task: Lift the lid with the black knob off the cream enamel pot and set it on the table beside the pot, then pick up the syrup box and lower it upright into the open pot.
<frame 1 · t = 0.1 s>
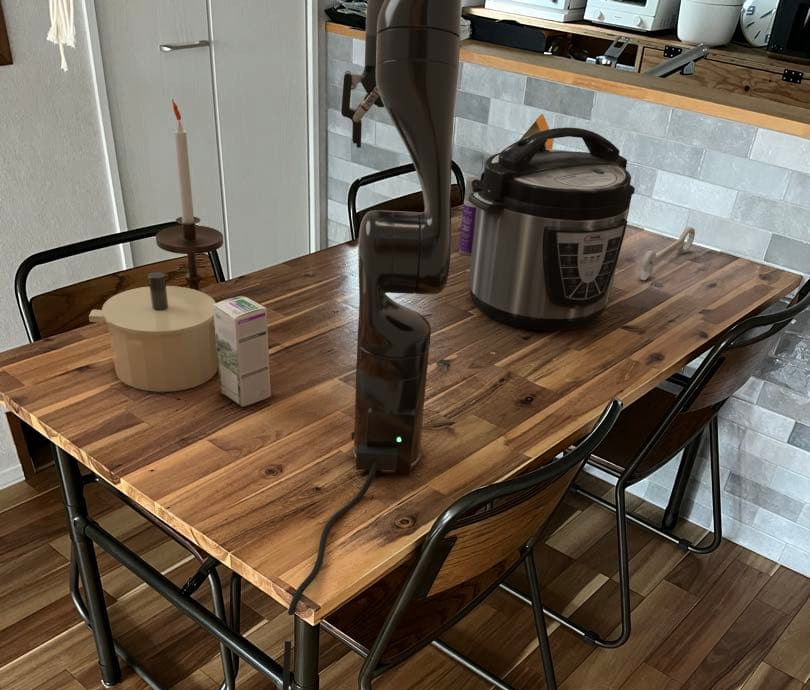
hand: (385, 148, 135), 29 cm above the table, tool pointing down, fingers open, 8 cm apart
pot: (167, 367, 134), on the table
pressure cooker: (537, 308, 162), on the table
lid: (160, 311, 128), point 9 cm above the table, touching pot
candlestick: (197, 319, 149), on the table
orange juice: (526, 202, 215), on the table
syrup box: (245, 396, 129), on the table
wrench: (664, 266, 185), on the table
container: (469, 252, 184), on the table
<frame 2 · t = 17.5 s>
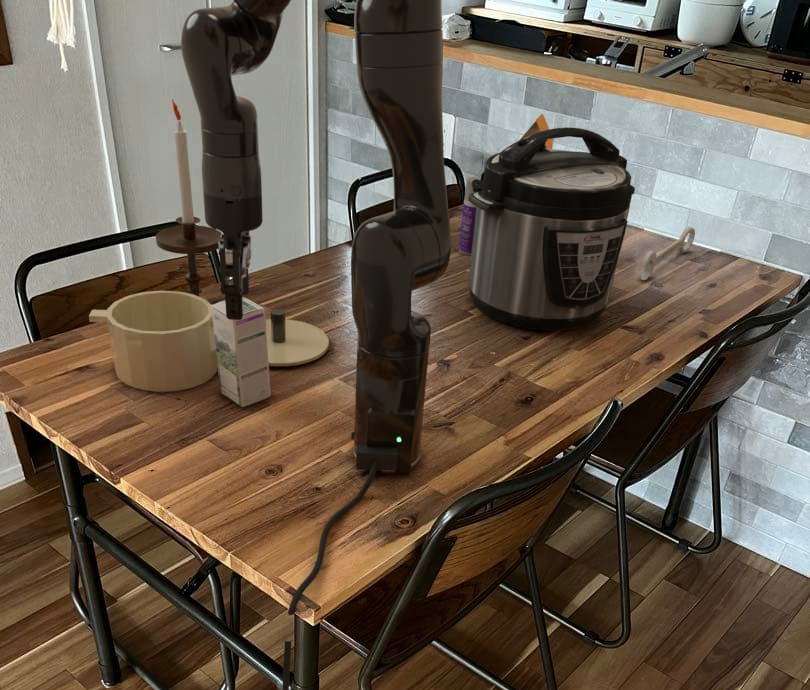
hand: (238, 305, 119), 14 cm above the table, tool pointing down, fingers open, 8 cm apart
lid: (278, 343, 142), point 1 cm above the table
syrup box: (245, 396, 129), on the table, touching gripper
everything else where it was.
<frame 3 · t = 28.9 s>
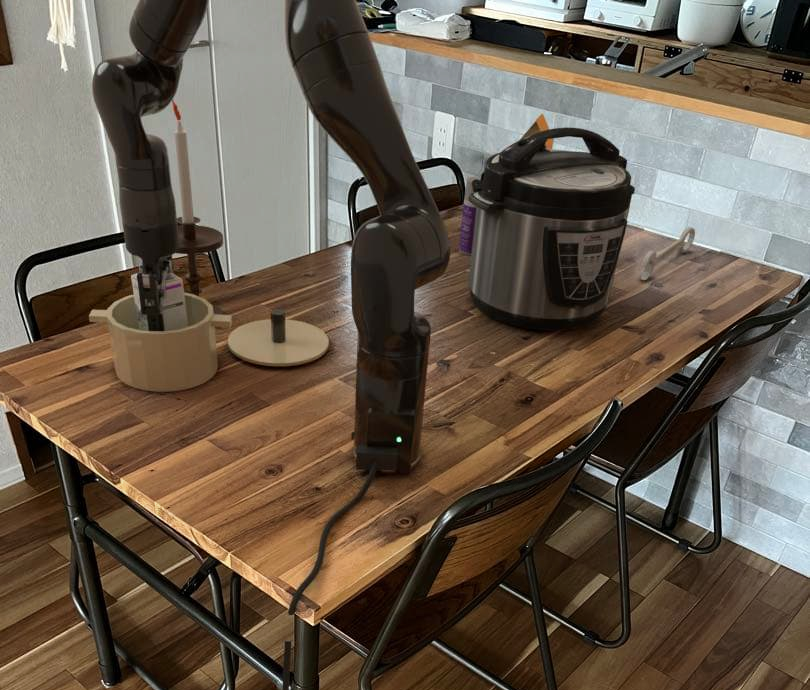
hand: (162, 324, 129), 7 cm above the table, tool pointing down, fingers open, 8 cm apart
syrup box: (168, 366, 133), resting on pot, touching gripper
everything else where it was.
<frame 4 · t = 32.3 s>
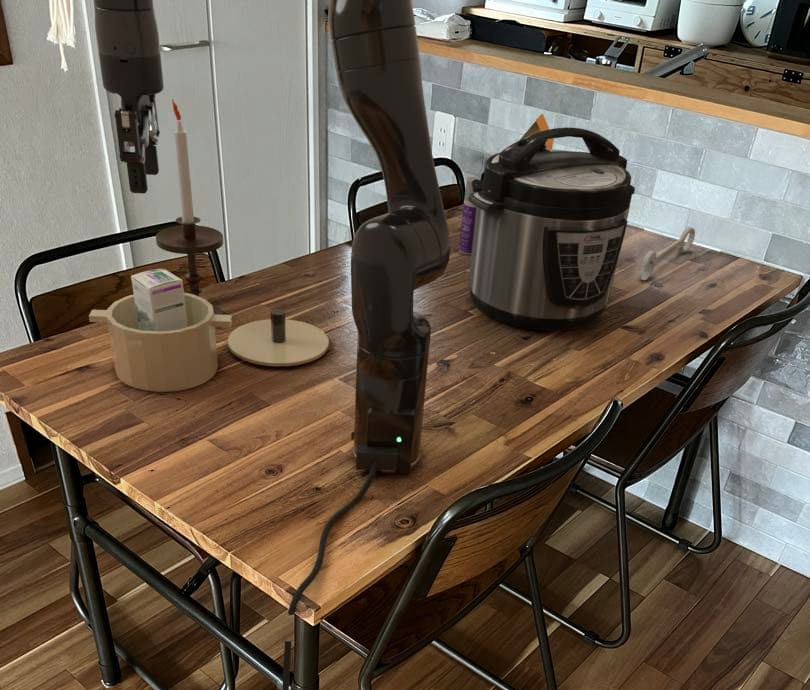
hand: (145, 183, 116), 28 cm above the table, tool pointing down, fingers open, 8 cm apart
syrup box: (168, 366, 133), resting on pot
everything else where it was.
at the end: lid inside the target area (0.1 cm from its centre), point 0.6 cm above the table; syrup box inside the target area in the pot (0.3 cm from its centre), point 0.3 cm above the pot's base; syrup box tilted 0° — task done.
